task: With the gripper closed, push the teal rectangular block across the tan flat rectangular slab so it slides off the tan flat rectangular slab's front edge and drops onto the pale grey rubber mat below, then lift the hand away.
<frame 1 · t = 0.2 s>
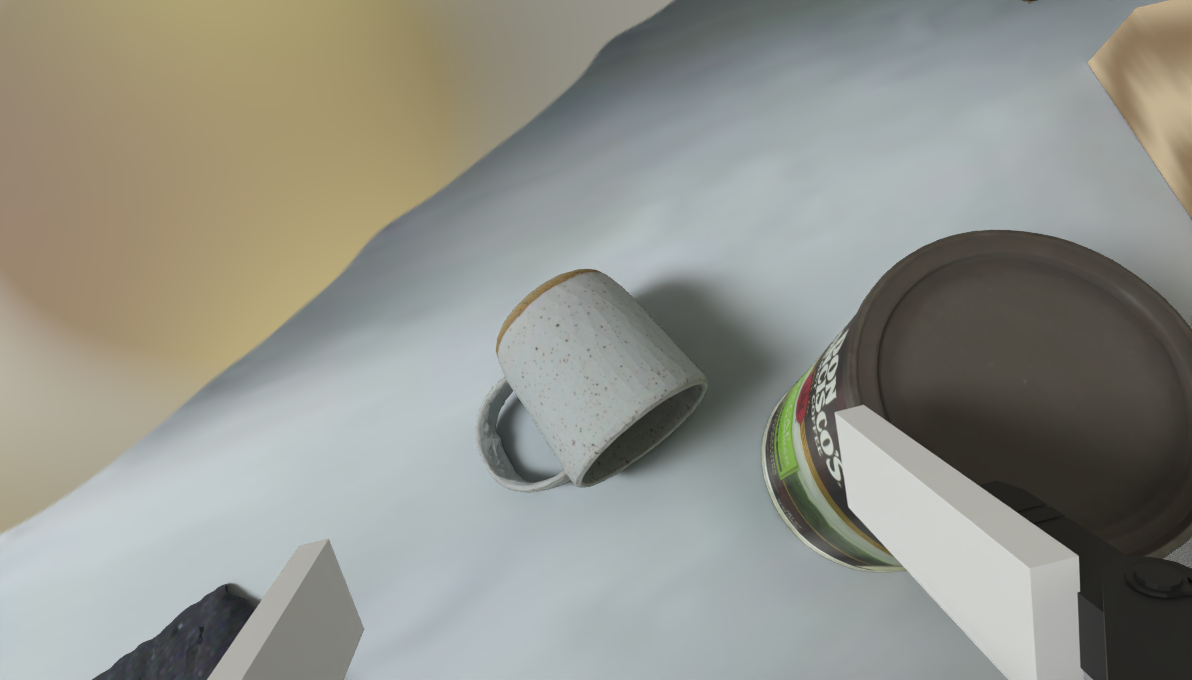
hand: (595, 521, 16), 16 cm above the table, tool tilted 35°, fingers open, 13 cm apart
coffee can: (864, 465, 31), on the table
ceramic mug: (583, 414, 33), on the table
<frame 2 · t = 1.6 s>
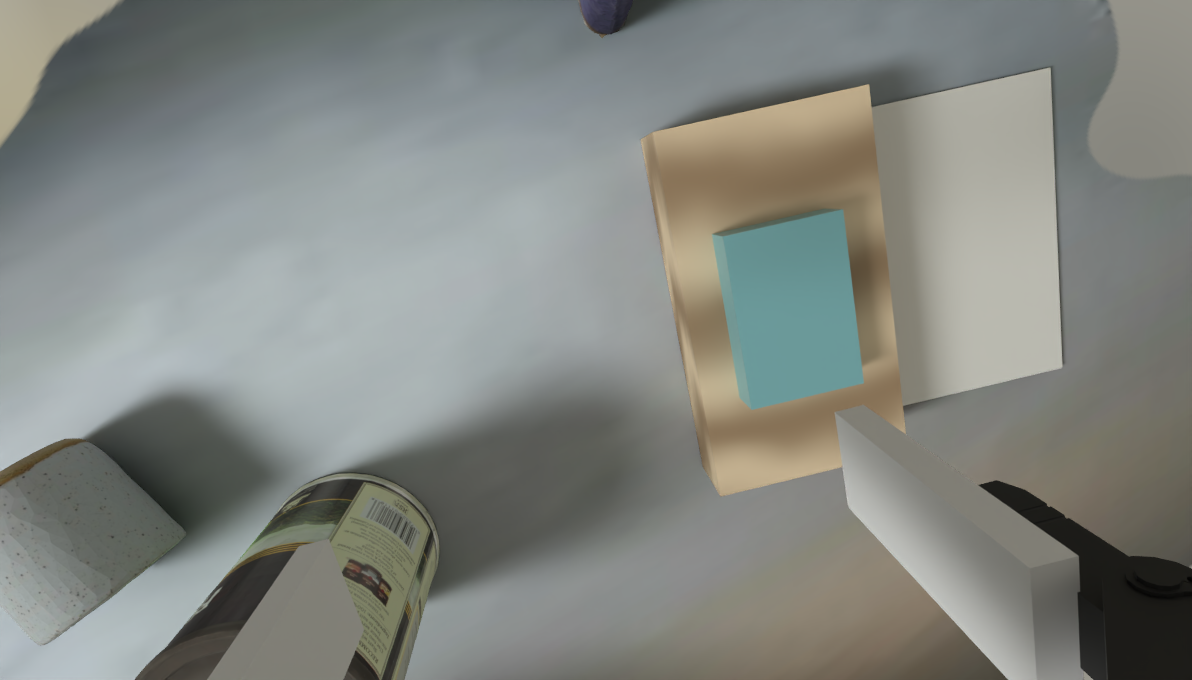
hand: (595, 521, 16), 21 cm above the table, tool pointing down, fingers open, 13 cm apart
teal rectangular block: (781, 305, 33), point 4 cm above the table, touching tan flat rectangular slab
coffee can: (357, 548, 39), on the table
ceramic mug: (102, 515, 37), on the table
tan flat rectangular slab: (763, 292, 37), on the table
mat: (957, 247, 37), on the table
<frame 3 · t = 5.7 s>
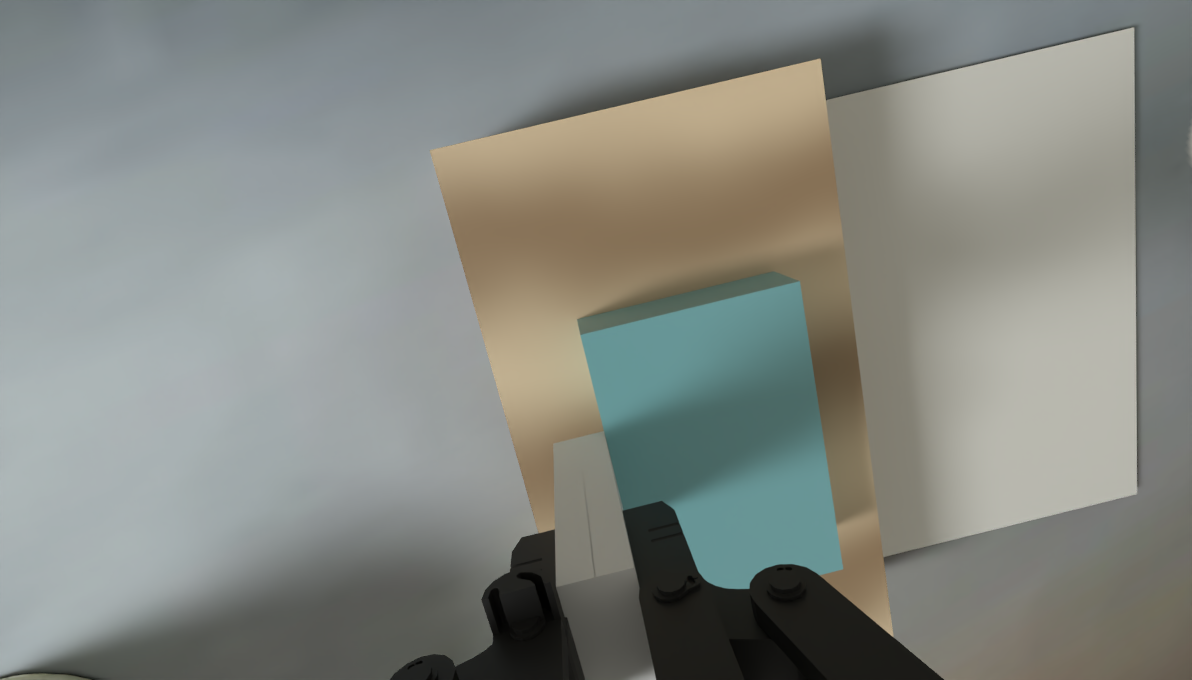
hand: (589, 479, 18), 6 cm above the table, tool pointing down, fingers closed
teal rectangular block: (703, 432, 20), point 4 cm above the table, touching tan flat rectangular slab
tan flat rectangular slab: (669, 393, 23), on the table
mat: (976, 318, 24), on the table
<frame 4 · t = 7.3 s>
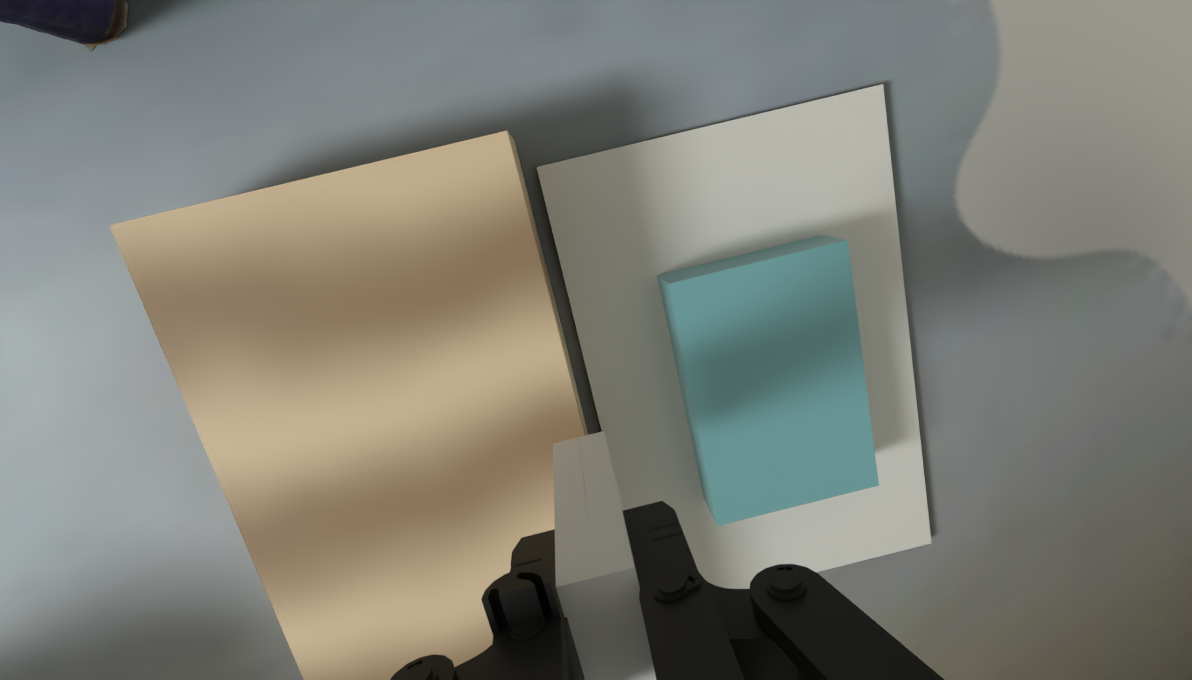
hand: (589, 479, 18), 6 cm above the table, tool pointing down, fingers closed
teal rectangular block: (779, 390, 21), point 2 cm above the table, tilted 180°, touching mat
tan flat rectangular slab: (440, 448, 23), on the table
mat: (751, 371, 23), on the table
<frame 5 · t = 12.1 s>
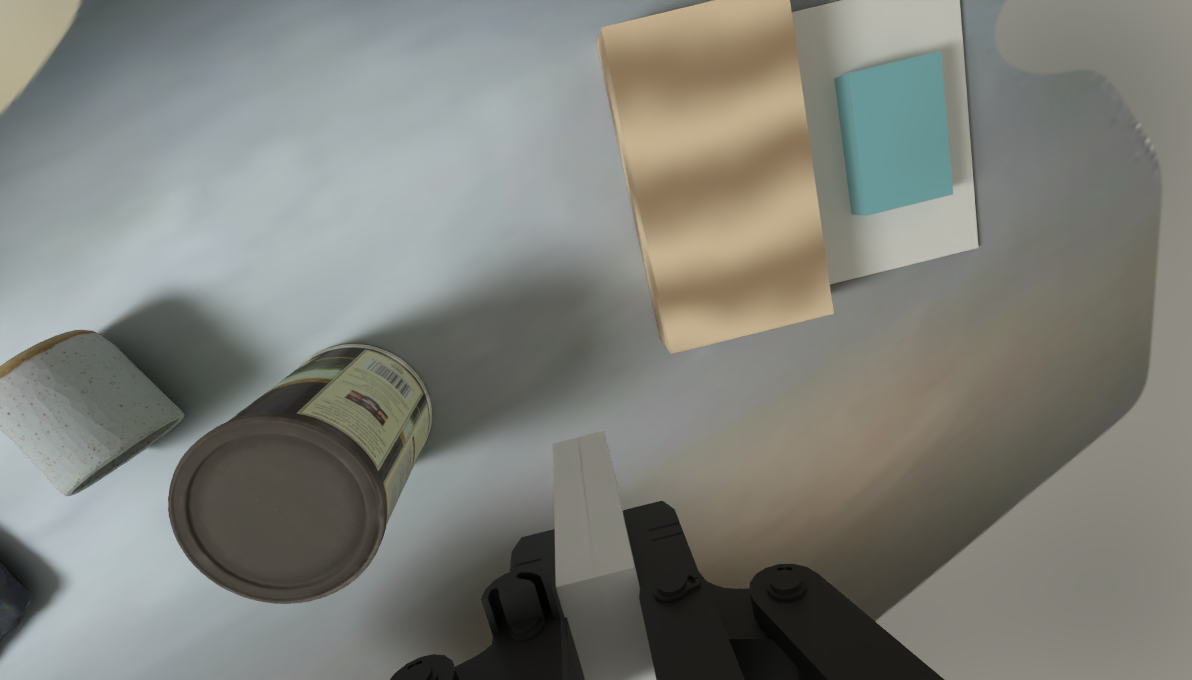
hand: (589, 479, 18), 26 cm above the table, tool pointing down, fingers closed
teal rectangular block: (902, 135, 40), point 2 cm above the table, tilted 180°, touching mat
coffee can: (361, 412, 45), on the table
ceramic mug: (113, 403, 43), on the table
tan flat rectangular slab: (709, 180, 42), on the table
mat: (880, 138, 42), on the table
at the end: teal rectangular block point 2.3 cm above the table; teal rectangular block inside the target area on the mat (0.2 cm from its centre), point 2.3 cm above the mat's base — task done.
